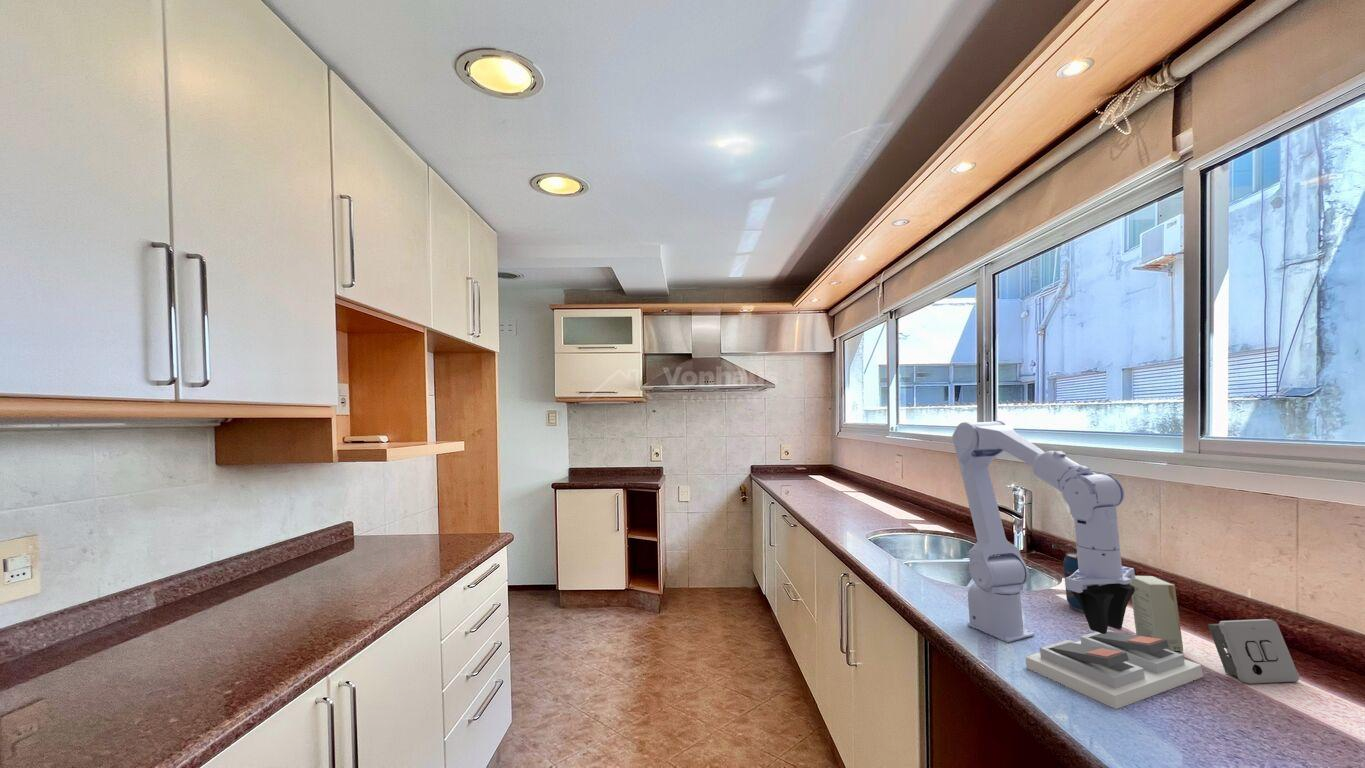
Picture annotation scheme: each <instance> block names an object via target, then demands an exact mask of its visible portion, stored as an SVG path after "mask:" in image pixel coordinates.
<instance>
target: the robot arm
mask: <svg viewBox="0 0 1365 768" xmlns="http://www.w3.org/2000/svg"><path fill="white" fill-rule="evenodd" d="M951 438H952V441H953V444H954V445H953V446H954V449H955V454H956V457H957V461H958V465H959V468H960V472H961V477H962V482H963V486H964V490H965V491H964V492H965V495H966V498H967V499H966V500H967V502H968V506H969V507H968V508H969V512H970V516H971V520H972V523H973V528H974V532H975V536H976V540H977V541H976V543H974V545H973V546H972V547H971V548H970V549H969V551H968V558H969V565H968V571H969V575H970V578H971V580H972V581H973V583H971V585H970V586H969V589H968V592H967V602H968V617H969V622H966V624H967V626H968V625H969V626H968V627H970V626H971V627H970V628H973V629H975V628H976V630H977V629H979V630H978V631H980V630H981V631H980V632H982V631H983V632H982V633H984V632H985V633H984V634H987V633H988V634H987V635H989V634H990V636H992V635H993V636H992V637H994V636H995V637H994V638H996V637H997V638H996V639H999V640H1001V641H1004V642H1006V643H1010V642H1015V641H1018V640H1022V639H1025V638H1029V637H1033V636H1035V632H1034V631H1030V630H1028V629H1026V628H1024V621H1023V610H1022V596H1021V591H1023V590H1024V585H1026V584H1027V583H1028V580H1029V576H1030V573H1029V569H1028V566H1027V564H1026V562H1025V561H1024V559H1023V557H1022V554H1021V551H1020V549H1019V548H1018V547H1017V546H1016V545H1014V544H1013V543H1011V542H1010V541H1008V539H1007V537H1006V534H1005V529H1004V526H1003V522H1002V517H1001V513H1000V510H999V506H998V502H997V498H996V494H995V490H994V487H993V486H994V485H993V483H992V479H991V475H990V471H989V465H990V463H991V462H992V461H993V460H994V459H996V458H997V457H998V456H1000V455H1001V454H1002V453H1003V452H1005V453H1007V454H1009V455H1011V456H1013V457H1015V458H1016V459H1018V460H1021V461H1022V462H1024V463H1026V464H1028V465H1030V466H1031V468H1032V472H1033V474H1034V476H1035V477H1037V478H1039V479H1040V480H1041V481H1043V482H1045V483H1047V484H1048V485H1049V486H1051V487H1052V488H1054V489H1056V490H1057V491H1059V492H1060V493H1061V494H1062V497H1063V499H1064V502H1065V503H1066V504H1067V505H1068V508H1069V513H1070V514H1069V515H1071V517H1072V518H1073V524H1074V525H1073V526H1074V534H1075V547H1076V552H1077V558H1078V568H1079V569H1078V570H1077V571H1076V572H1074V573H1073V574H1072V575H1071V576H1069V577H1066V578H1065V577H1064V582H1065V581H1066V586H1065V590H1066V589H1067V590H1070V591H1071V592H1072V593H1073V594H1074V596H1075V597H1076V598H1077V600H1078V602H1079V603H1080V605H1081V607H1082V609H1083V613H1084V616H1085V618H1086V622H1087V624H1088V626H1089V627H1088V628H1089V629H1090V631H1094V632H1099V633H1102V634H1106V633H1107V629H1108V627H1110V628H1113V629H1115V630H1119V631H1120V630H1122V627H1123V624H1124V619H1125V614H1126V610H1127V607H1128V604H1129V602H1130V601H1131V599H1132V595H1133V594H1134V592H1135V588H1134V586H1132V585H1130V583H1131V581H1132V580H1135V576H1136V574H1135V568H1133V567H1128V566H1124V565H1123V563H1122V556H1121V545H1120V536H1119V526H1118V524H1119V523H1118V514H1117V507H1118V506H1120V505H1121V504H1122V503H1123V501H1124V498H1125V491H1124V487H1123V486H1122V484H1121V482H1120V481H1119V480H1118V479H1117V478H1115V477H1114V476H1113V475H1112V473H1108V472H1098V473H1097V472H1094V471H1091V470H1090V468H1089V467H1088V466H1086V465H1081V464H1079V463H1077V462H1076V461H1074V460H1072V459H1070V458H1068V457H1067V454H1066V452H1064V451H1062V450H1056V451H1055V450H1049V451H1044V449H1043V450H1042V449H1041V448H1040V447H1038V446H1037V445H1035V444H1034V443H1032V442H1031V441H1029V440H1028V439H1027V438H1025V437H1023V436H1022V435H1020V434H1019V433H1017V432H1016V431H1015V428H1014V426H1012V425H1010V424H1007V423H1006V422H1004V420H1003V421H1002V420H994V421H984V422H983V421H979V422H965V421H964V422H960V423H959V424H958V425H957V427H956V428H955V430H954V432H953V434H952V436H951ZM992 555H993V556H992Z"/></svg>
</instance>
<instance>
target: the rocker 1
mask: <svg viewBox="0 0 1365 768" xmlns="http://www.w3.org/2000/svg"><path fill="white" fill-rule="evenodd" d="M1052 650H1053V651H1054V652H1057V653H1059V654H1062V655H1064V656H1066V657H1069V658H1071V659H1075V660H1079V661H1084V662H1089V663H1094V664H1099V665H1104V666H1109V667H1110V666H1113V665H1116V664H1119V663H1122V662H1126V661H1129V659H1128V656H1127V652H1121V651H1116V650H1110V649H1104V648H1099V647H1093V646H1087V645H1082V644H1076V643H1067V644H1064V645H1060V646H1057V647H1053V648H1052Z"/></svg>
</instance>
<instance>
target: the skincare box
mask: <svg viewBox="0 0 1365 768" xmlns="http://www.w3.org/2000/svg"><path fill="white" fill-rule="evenodd" d="M1129 585H1132V586H1134V588H1135V592H1134V594H1133V595H1132V596H1131V602H1132V611H1133V618H1134V626H1135V635H1137V636H1144V637H1151V638H1158V639H1164V640H1167V643H1168V646H1169V648H1166V649H1168V650H1171V651H1174V652H1184V645H1183V638H1182V637H1183V636H1182V629H1181V622H1180V614H1179V608H1178V599H1177V593H1176V591H1177V590H1176V585H1175V584H1173V583H1170V582H1168V581H1166V580H1164V579H1161V578H1158V577H1156V576H1153V575H1135V580H1132V581H1131V583H1130V584H1129Z"/></svg>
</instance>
